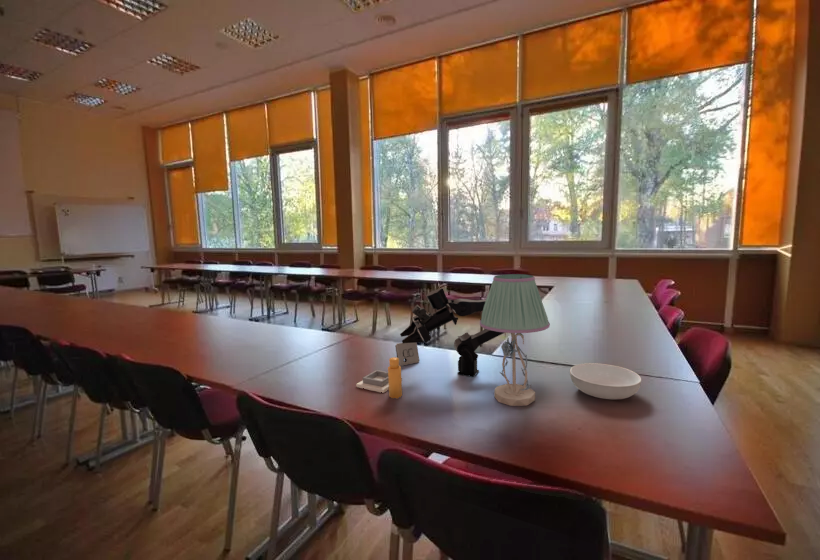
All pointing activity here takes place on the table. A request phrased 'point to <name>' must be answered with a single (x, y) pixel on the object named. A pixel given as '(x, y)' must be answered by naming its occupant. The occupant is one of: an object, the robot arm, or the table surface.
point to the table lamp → (514, 327)
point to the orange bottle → (394, 378)
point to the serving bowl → (605, 380)
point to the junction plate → (375, 381)
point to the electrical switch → (407, 353)
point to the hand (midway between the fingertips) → (401, 338)
